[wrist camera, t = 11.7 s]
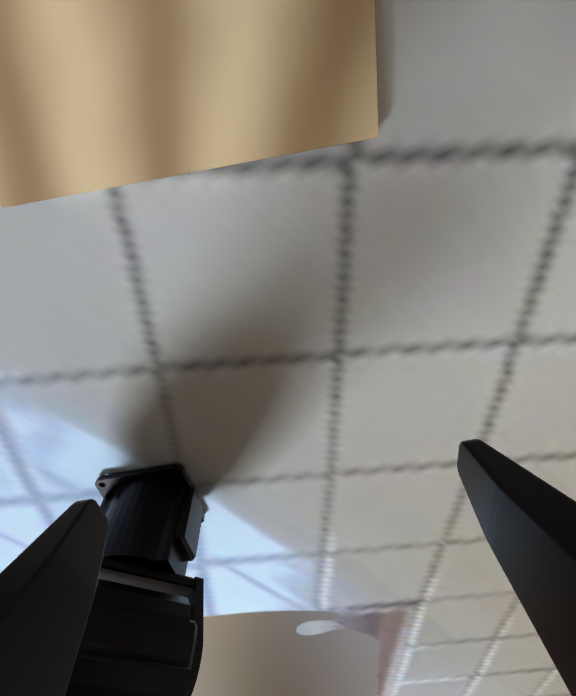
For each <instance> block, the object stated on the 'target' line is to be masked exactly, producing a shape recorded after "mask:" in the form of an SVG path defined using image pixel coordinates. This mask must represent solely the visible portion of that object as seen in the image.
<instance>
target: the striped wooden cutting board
mask: <svg viewBox="0 0 576 696" xmlns="http://www.w3.org/2000/svg"><path fill="white" fill-rule="evenodd" d="M378 137H379V132H378V99H377V65H376V32H375V0H0V204H1V206H2V208H4V207H9V206H15V205H20V204H25V203H31V202H36V201H41V200H47V199H52V198H57V197H63V196H68V195H73V194H79V193H84V192H89V191H95V190H100V189H106V188H111V187H116V186H122V185H127V184H132V183H138V182H143V181H148V180H154V179H159V178H164V177H170V176H175V175H180V174H186V173H191V172H196V171H202V170H207V169H212V168H218V167H223V166H228V165H234V164H239V163H244V162H250V161H255V160H260V159H266V158H271V157H276V156H282V155H287V154H292V153H298V152H303V151H308V150H314V149H319V148H324V147H330V146H335V145H340V144H346V143H351V142H356V141H362V140H367V139H372V138H378Z"/></svg>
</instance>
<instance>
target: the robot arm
mask: <svg viewBox="0 0 576 696" xmlns="http://www.w3.org/2000/svg"><path fill="white" fill-rule="evenodd" d="M457 468H458V472H459V475H460V478H461V480H462V483H463V485H464V487H465V490H466V492H467V495H468V497H469V499H470V502H471V504H472V506H473V509H474V511H475V514H476V516H477V518H478V521H479V523H480V526H481V528H482V530H483V532H484V535H485V537H486V539H487V541H488V543H489V545H490V547H491V549H492V550H493V552H494V554H495V556H496V558H497V560H498V561H499V563H500V565H501V567H502V569H503V571H504V572H505V574H506V576H507V578H508V580H509V582H510V583H511V585H512V587H513V589H514V591H515V593H516V594H517V596H518V598H519V600H520V602H521V604H522V605H523V607H524V609H525V611H526V613H527V615H528V616H529V618H530V620H531V622H532V624H533V626H534V627H535V629H536V631H537V633H538V635H539V637H540V638H541V640H542V642H543V644H544V646H545V648H546V649H547V651H548V653H549V655H550V657H551V659H552V660H553V662H554V664H555V666H556V668H557V670H558V672H559V673H560V675H561V677H562V679H563V681H564V683H565V684H566V686H567V688H568V690H569V692H570V694H571V695H572V696H576V501H574V500H573V499H571V498H569V497H568V496H566V495H565V494H563V493H562V492H560V491H559V490H557V489H556V488H554V487H552V486H551V485H549V484H548V483H546V482H545V481H543V480H542V479H540V478H539V477H537V476H535V475H534V474H532V473H531V472H529V471H528V470H526V469H525V468H523V467H522V466H520V465H518V464H517V463H515V462H514V461H512V460H511V459H509V458H508V457H506V456H504V455H503V454H501V453H500V452H498V451H497V450H495V449H494V448H492V447H491V446H489V445H487V444H486V443H484V442H483V441H481V440H479V439H473V440H466V441H462V442H461V443H460V445H459V453H458V462H457ZM95 485H96V487H97V489H98V490H99V492H100V493H101V495H102V496H103V498H104V499H103V501H102V503H101V506H99V505H98V504H97V502H96V501H95V500H93V499H88V500H81V501H77V502H75V503H74V504H72V505H71V506H70V507H69V508H68V509H67V510H66V511H65V512H64V513H63V514H62V515H61V516H60V517H59V518H58V519H57V520H56V521H54V522H53V523H52V524H51V525H50V526H49V527H48V528H47V529H46V530H45V531H44V532H43V533H42V534H41V535H40V536H39V537H38V538H37V539H36V540H35V541H34V542H33V543H32V544H30V545H29V546H28V547H27V548H26V549H25V550H24V551H23V552H22V553H21V554H20V555H19V556H18V557H17V558H16V559H15V560H14V561H13V562H12V563H11V564H10V565H9V566H7V567H6V568H5V569H4V570H3V571H2V572H1V573H0V696H191V694H192V692H193V689H194V686H195V683H196V679H197V676H198V671H199V667H200V662H201V657H202V649H203V578H199V577H195V578H192V577H188V576H185V574H186V569H187V563H188V561H193V559H194V558H195V557H196V551H197V545H198V539H199V533H200V527H201V523H202V522H203V521H204V517H205V514H204V512H203V510H204V507H203V505H202V503H201V501H200V498H199V496H198V494H197V492H196V489H195V488H194V487H193V486H192V485H191V483H190V481H189V479H188V476H187V474H186V472H185V470H184V468H183V466H181V465H179V464H173V465H167V466H161V467H154V468H148V469H142V470H135V471H129V472H123V473H117V474H110V475H104V476H100V477H98V479H97V481H96V483H95Z"/></svg>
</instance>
